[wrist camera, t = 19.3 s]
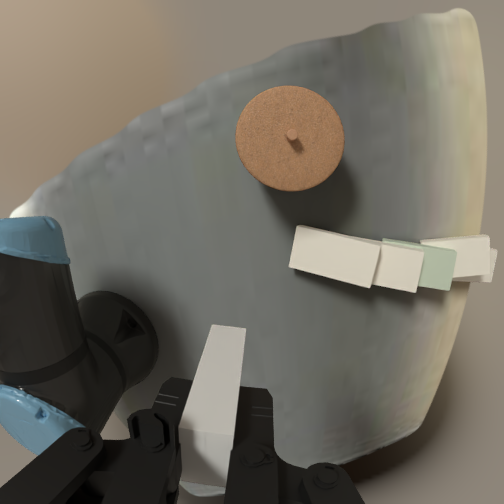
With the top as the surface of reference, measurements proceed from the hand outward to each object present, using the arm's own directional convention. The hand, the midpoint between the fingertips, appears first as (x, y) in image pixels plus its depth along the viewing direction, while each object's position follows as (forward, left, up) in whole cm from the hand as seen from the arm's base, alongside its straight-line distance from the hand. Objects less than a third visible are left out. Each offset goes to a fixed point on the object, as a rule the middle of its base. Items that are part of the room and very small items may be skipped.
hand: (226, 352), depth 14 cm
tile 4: (+23, 0, -25) cm, 34 cm away
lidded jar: (+3, +12, -27) cm, 29 cm away
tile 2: (+11, -1, -25) cm, 28 cm away
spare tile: (+17, 0, -26) cm, 30 cm away
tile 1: (+5, 0, -26) cm, 26 cm away
